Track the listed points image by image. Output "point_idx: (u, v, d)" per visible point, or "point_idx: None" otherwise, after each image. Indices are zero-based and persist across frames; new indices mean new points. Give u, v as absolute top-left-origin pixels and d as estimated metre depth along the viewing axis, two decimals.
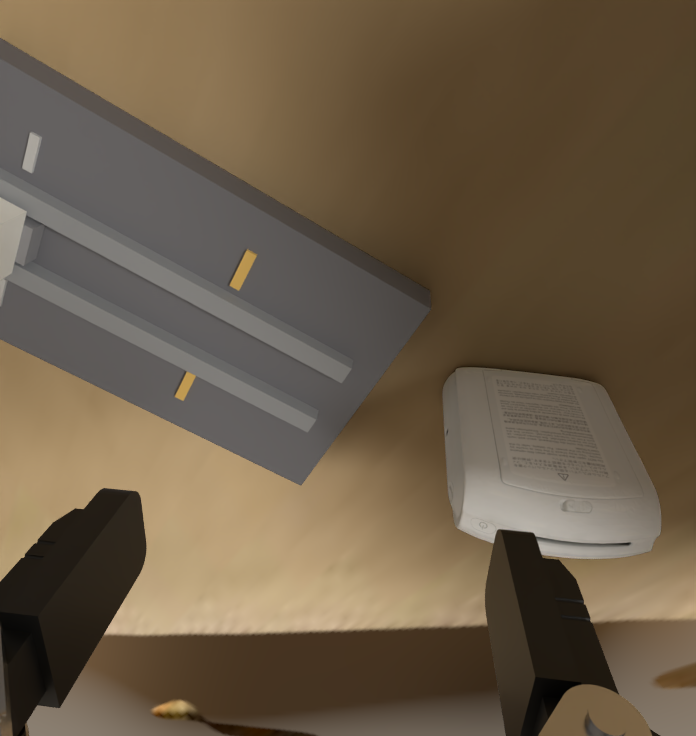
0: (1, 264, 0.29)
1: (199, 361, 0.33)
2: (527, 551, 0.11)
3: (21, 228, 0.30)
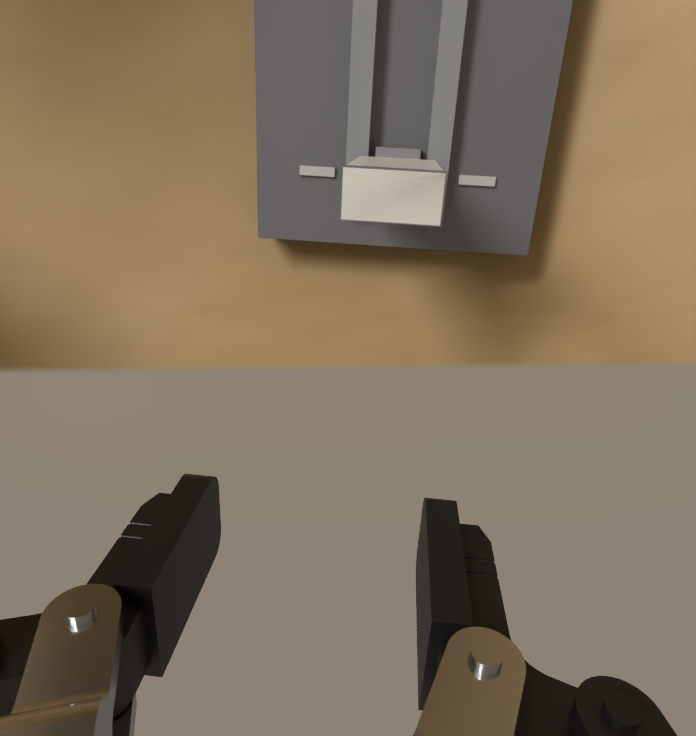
0: (413, 160, 0.29)
1: None
2: (446, 516, 0.12)
3: (380, 157, 0.30)
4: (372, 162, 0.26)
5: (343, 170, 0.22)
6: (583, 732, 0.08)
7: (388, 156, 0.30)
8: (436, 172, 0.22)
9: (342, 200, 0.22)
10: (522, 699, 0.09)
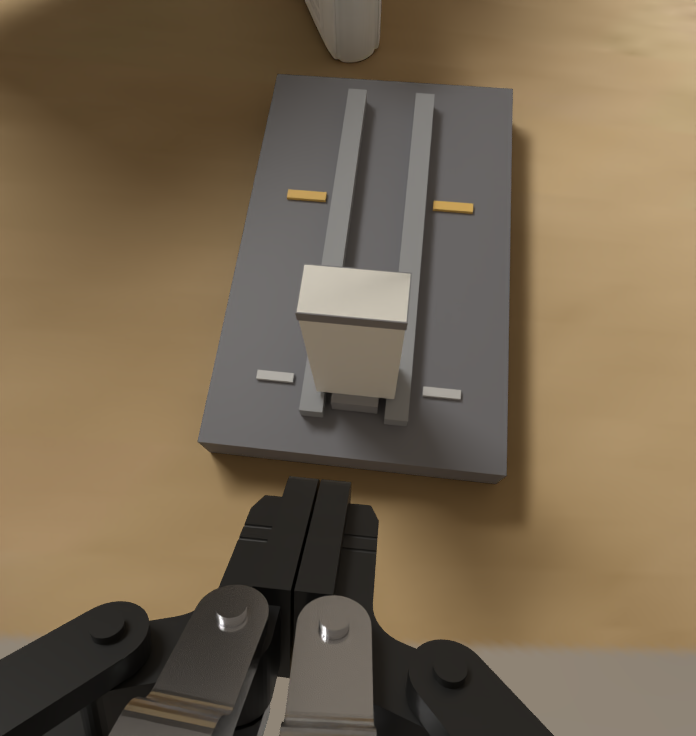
0: None
1: (408, 191, 0.33)
2: (336, 496, 0.12)
3: None
4: None
5: (304, 267, 0.21)
6: (420, 704, 0.08)
7: None
8: (401, 272, 0.21)
9: (300, 294, 0.21)
10: None
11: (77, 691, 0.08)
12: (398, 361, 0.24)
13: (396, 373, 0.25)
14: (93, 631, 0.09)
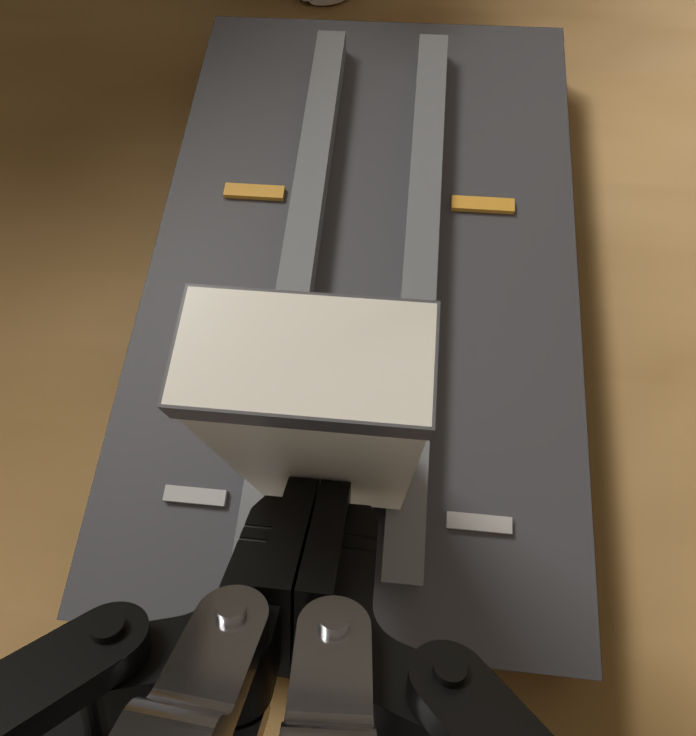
0: None
1: (412, 181, 0.21)
2: (336, 496, 0.12)
3: None
4: None
5: (187, 294, 0.09)
6: (420, 704, 0.08)
7: None
8: (414, 301, 0.09)
9: (173, 358, 0.09)
10: None
11: (78, 691, 0.08)
12: (409, 476, 0.12)
13: (404, 488, 0.13)
14: (93, 631, 0.09)
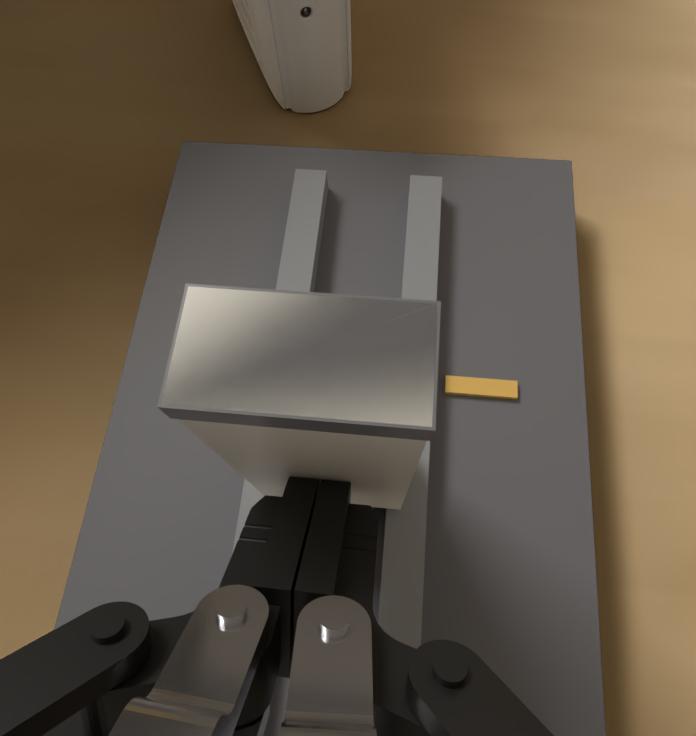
0: None
1: None
2: (336, 496, 0.12)
3: None
4: None
5: (187, 294, 0.09)
6: (421, 704, 0.08)
7: None
8: (414, 301, 0.09)
9: (173, 358, 0.09)
10: None
11: (78, 692, 0.08)
12: (409, 476, 0.12)
13: (405, 488, 0.13)
14: (93, 631, 0.09)
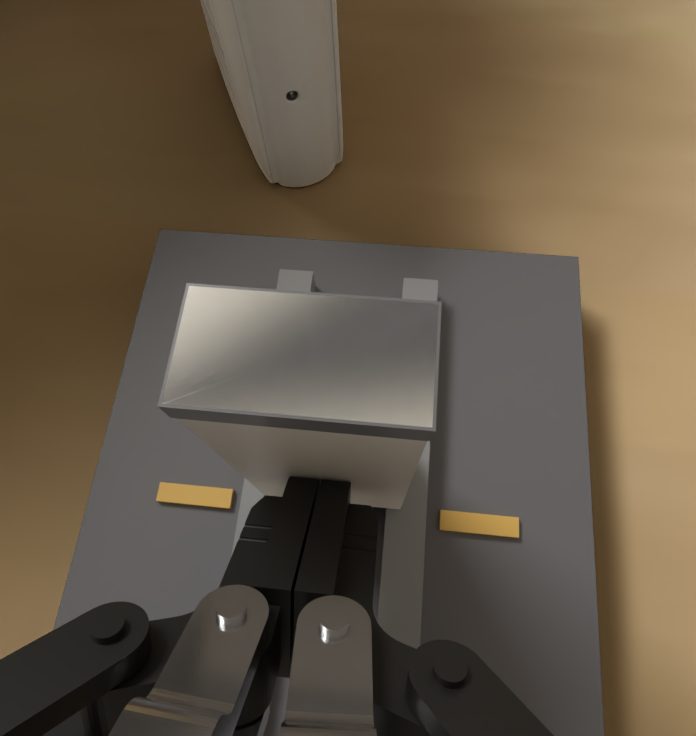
0: None
1: None
2: (336, 496, 0.12)
3: None
4: None
5: (188, 294, 0.09)
6: (421, 704, 0.08)
7: None
8: (415, 302, 0.09)
9: (174, 358, 0.09)
10: None
11: (78, 692, 0.08)
12: (409, 476, 0.12)
13: (405, 488, 0.13)
14: (93, 631, 0.09)
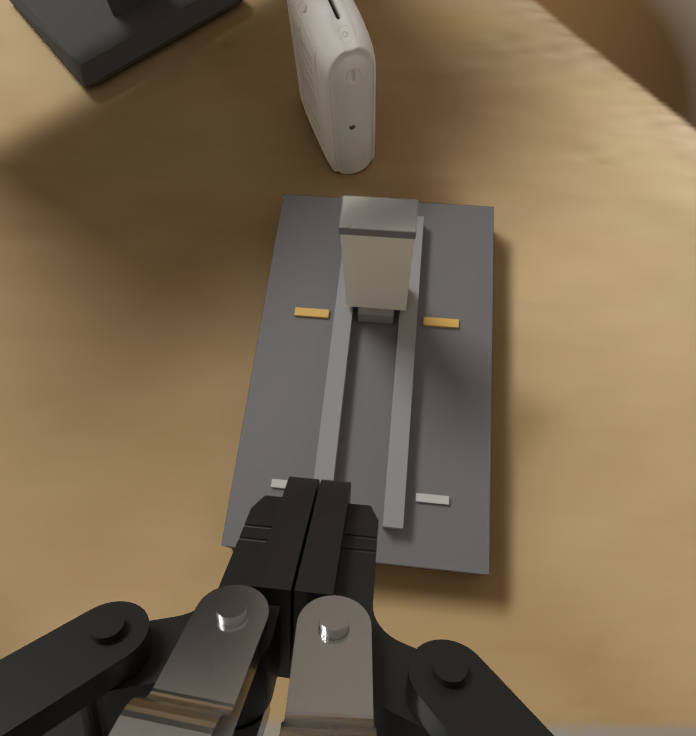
0: None
1: (401, 311, 0.38)
2: (336, 496, 0.12)
3: None
4: None
5: (343, 198, 0.30)
6: (420, 704, 0.08)
7: None
8: (410, 199, 0.30)
9: (341, 215, 0.30)
10: None
11: (77, 692, 0.08)
12: (409, 270, 0.33)
13: (407, 282, 0.34)
14: (93, 631, 0.09)
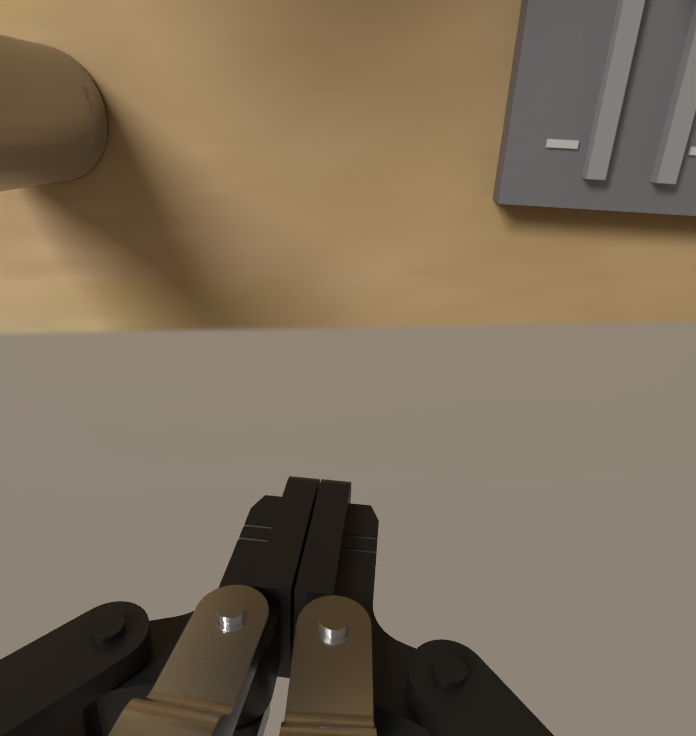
0: None
1: None
2: (336, 496, 0.12)
3: None
4: None
5: None
6: (421, 704, 0.08)
7: None
8: None
9: None
10: None
11: (77, 692, 0.08)
12: None
13: None
14: (93, 631, 0.09)
